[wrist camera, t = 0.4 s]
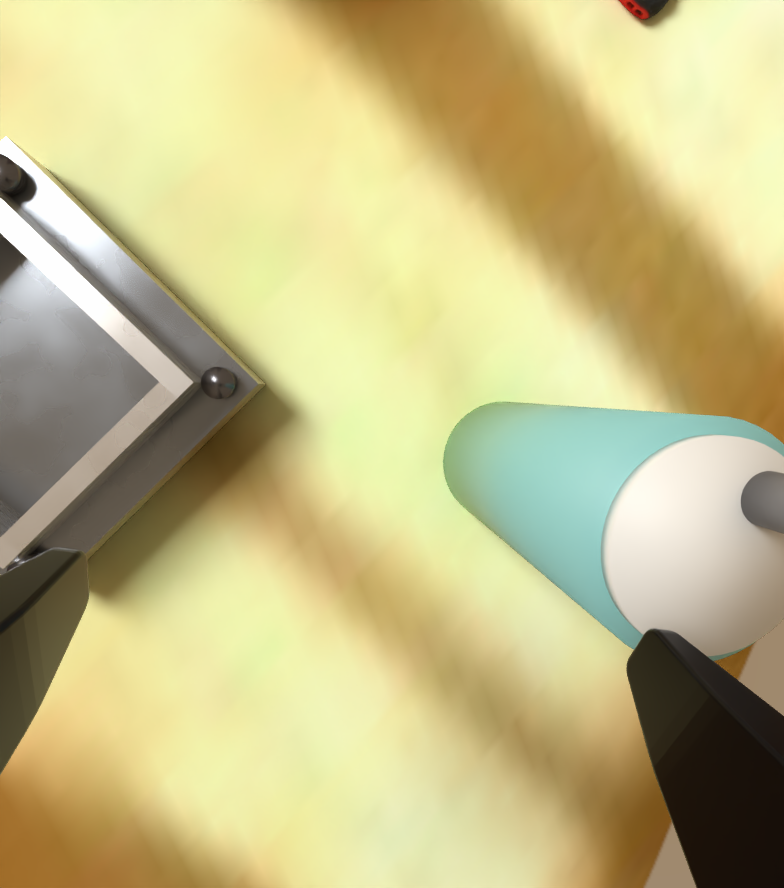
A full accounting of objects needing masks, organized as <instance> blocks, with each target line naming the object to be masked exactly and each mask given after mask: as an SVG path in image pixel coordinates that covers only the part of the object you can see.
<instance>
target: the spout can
mask: <svg viewBox="0 0 784 888" xmlns="http://www.w3.org/2000/svg"><path fill="white" fill-rule="evenodd" d="M443 465H444V474H445V479H446V482H447V485H448V487H449V489H450V491H451V493H452V494H453V496H454V497H455V498H456V500H457V501H458V502H459V503H460V504H461V505H462V506H463V507H464V508H466V509H467V510H468V511H469V512H470V513H471V514H473V515H474V516H475V517H476V518H477V519H479V520H480V521H481V522H482V523H483V524H484V525H486V526H487V527H488V528H489V529H490V530H492V531H493V532H494V533H495V534H496V535H497V536H499V537H500V538H501V539H502V540H503V541H504V542H506V543H507V544H508V545H509V546H510V547H512V548H513V549H514V550H515V551H516V552H517V553H519V554H520V555H521V556H522V557H523V558H524V559H526V560H527V561H528V562H529V563H530V564H532V565H533V566H534V567H535V568H536V569H537V570H539V571H540V572H541V573H542V574H543V575H545V576H546V577H547V578H548V579H549V580H550V581H552V582H553V583H554V584H555V585H556V586H557V587H559V588H560V589H561V590H562V591H563V592H565V593H566V594H567V595H568V596H569V597H570V598H572V599H573V600H574V601H575V602H576V603H577V604H579V605H580V606H581V607H582V608H583V609H585V610H586V611H587V612H588V613H589V614H590V615H592V616H593V617H594V618H595V619H596V620H598V621H599V622H600V623H601V624H602V625H603V626H605V627H606V628H607V629H608V630H609V631H610V632H612V633H613V634H614V635H615V636H616V637H618V638H619V639H620V640H621V641H622V642H623V643H625V644H626V645H628V646H629V647H631V648H632V649H635V648H636V646H637V644H638V643H639V641H640V640H641V638H642V637H643V635H644V633H645V632H646V631H647V630H649V629H652V628H657V629H664V630H671V631H674V632H676V633H678V634H679V635H681V636H682V637H683V638H684V639H686V640H687V641H688V642H690V643H691V644H692V645H693V646H695V647H696V648H697V649H698V650H700V651H701V652H702V653H704V654H705V655H706V656H707V657H709V658H710V659H711V660H713V661H715V660H719V659H722V658H725V657H728V656H730V655H733V654H735V653H737V652H739V651H741V650H743V649H745V648H746V647H748V646H750V645H752V644H753V643H754V642H756V641H757V640H759V639H761V638H762V637H763V636H765V635H766V634H768V633H769V632H770V631H771V630H772V629H774V628H775V627H776V626H777V625H778V624H779V623H780V622H781V621H782V620H783V619H784V444H783V443H782V442H780V441H779V440H778V439H777V438H775V437H774V436H773V435H772V434H770V433H769V432H767V431H765V430H764V429H762V428H760V427H758V426H756V425H754V424H751V423H749V422H746V421H744V420H740V419H735V418H731V417H723V416H710V415H695V414H679V413H664V412H649V411H634V410H619V409H604V408H589V407H574V406H559V405H544V404H529V403H514V402H495V403H489V404H486V405H483V406H480V407H478V408H476V409H474V410H473V411H471V412H470V413H468V414H467V415H466V416H465V417H464V418H462V419H461V420H460V422H459V423H458V424H457V425H456V426H455V428H454V429H453V431H452V432H451V434H450V436H449V438H448V441H447V444H446V447H445V452H444V460H443Z"/></svg>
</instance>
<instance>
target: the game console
mask: <svg viewBox="0 0 784 888" xmlns="http://www.w3.org/2000/svg"><path fill="white" fill-rule="evenodd" d="M619 1H620V2H621V3H622V4H623V5H624V7H625V8H626V9H627V10H629V11H630V12H631V13H632V14H634V15H635V16H637V17H638V18H640V19H648V18H650V17H652V16H654V15H656V14H657V13H658V12H659V11H660V10H661V9H662V8H663V7H664V5H665V4H666V3H667V1H668V0H619Z"/></svg>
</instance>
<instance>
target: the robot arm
mask: <svg viewBox="0 0 784 888" xmlns="http://www.w3.org/2000/svg"><path fill="white" fill-rule="evenodd" d="M88 599H89V579H88V563H87V556H86V554H85V553H84V552H83V551H81V550H75V549H68V548H61V547H54V548H51V549H48V550H46V551H44V552H42V553H41V554H39V555H37V556H35V557H33V558H31V559H29V560H27V561H25V562H23V563H22V564H20V565H18V566H16V567H14V568H12V569H10V570H8V571H6V572H4V573H2V574H1V575H0V775H1V773H2V771H3V770H4V768H5V766H6V764H7V763H8V761H9V759H10V758H11V756H12V754H13V753H14V751H15V749H16V748H17V746H18V744H19V743H20V741H21V739H22V738H23V736H24V734H25V733H26V731H27V729H28V727H29V726H30V724H31V722H32V720H33V719H34V717H35V715H36V713H37V711H38V709H39V707H40V705H41V703H42V701H43V699H44V697H45V695H46V693H47V691H48V689H49V687H50V684H51V682H52V680H53V678H54V676H55V674H56V671H57V669H58V667H59V665H60V663H61V661H62V658H63V656H64V654H65V652H66V650H67V648H68V646H69V643H70V641H71V639H72V637H73V635H74V633H75V630H76V628H77V626H78V624H79V622H80V620H81V618H82V615H83V613H84V611H85V609H86V606H87V603H88ZM627 676H628V680H629V684H630V687H631V691H632V695H633V698H634V702H635V706H636V709H637V713H638V717H639V720H640V724H641V728H642V731H643V735H644V739H645V742H646V746H647V750H648V753H649V757H650V760H651V763H652V767H653V770H654V773H655V776H656V779H657V782H658V784H659V787H660V790H661V793H662V795H663V798H664V801H665V803H666V806H667V809H668V812H669V814H670V817H671V820H672V823H673V825H674V828H675V830H676V833H677V836H678V838H679V842H680V844H681V847H682V850H683V852H684V855H685V858H686V861H687V863H688V866H689V869H690V871H691V874H692V877H693V880H694V882H695V885H696V888H784V716H783V715H782V714H780V713H779V712H778V711H776V710H775V709H774V708H773V707H771V706H770V705H769V704H767V703H766V702H765V701H764V700H762V699H761V698H760V697H759V696H757V695H756V694H754V693H753V692H752V691H751V690H750V689H748V688H747V687H746V686H744V685H743V684H742V683H741V682H739V681H738V680H737V679H736V678H734V677H733V676H732V675H730V674H729V673H728V672H727V671H725V670H724V669H723V668H721V667H720V666H719V665H718V664H716V663H715V662H714V661H713V660H711V659H710V658H709V657H707V656H706V655H705V654H704V653H702V652H701V651H700V650H698V649H697V648H696V647H695V646H693V645H692V644H691V643H690V642H688V641H687V640H686V639H684V638H683V637H682V636H681V635H679V634H678V633H676V632H674V631H671V630H664V629H657V628H652V629H649V630H647V631H646V632H645V633H644V635H643V637H642V638H641V640H640V641H639V643H638V644H637V646H636V648H635V649H634V651H633V652H632V654H631V655H630V657H629V659H628V662H627Z"/></svg>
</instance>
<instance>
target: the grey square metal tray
mask: <svg viewBox="0 0 784 888" xmlns="http://www.w3.org/2000/svg"><path fill="white" fill-rule="evenodd" d="M265 385H266V384H265V383H264V382H263V381H262V380H261V379H260V378H259V377H258V376H257V375H256V374H255V373H254V372H253V371H252V370H251V369H250V368H249V367H248V366H247V365H246V364H245V363H244V362H243V361H242V360H241V359H240V358H239V357H238V356H237V355H236V354H235V353H233V352H232V351H231V350H230V349H229V348H228V347H227V346H226V345H225V344H224V343H223V342H222V341H221V340H220V339H219V338H218V337H217V336H216V335H215V334H214V333H213V332H212V331H211V330H210V329H209V328H208V327H207V326H206V325H205V324H204V323H203V322H202V321H201V320H200V319H199V318H198V317H197V316H196V315H195V314H194V313H193V312H192V311H191V310H190V309H189V308H188V307H187V306H186V305H185V304H184V303H183V302H182V301H181V300H180V299H179V298H178V297H176V296H175V295H174V294H173V293H172V292H171V291H170V290H169V289H168V288H167V287H166V286H165V285H164V284H163V283H162V282H161V281H160V280H159V279H158V278H157V277H156V276H155V275H154V274H153V273H152V272H151V271H150V270H149V269H148V268H147V267H146V266H145V265H144V264H143V263H142V262H141V261H140V260H139V259H138V258H137V257H136V256H135V255H134V254H133V253H132V252H131V251H130V250H129V249H128V248H127V247H126V246H125V245H124V244H123V243H122V242H121V241H120V240H118V239H117V238H116V237H115V236H114V235H113V234H112V233H111V232H110V231H109V230H108V229H107V228H106V227H105V226H104V225H103V224H102V223H101V222H100V221H99V220H98V219H97V218H96V217H95V216H94V215H93V214H92V213H91V212H90V211H89V210H88V209H87V208H86V207H85V206H84V205H83V204H82V203H81V202H80V201H79V200H78V199H77V198H76V197H75V196H74V195H73V194H72V193H71V192H70V191H69V190H68V189H67V188H66V187H65V186H64V185H63V184H61V183H60V182H59V181H58V180H57V179H56V178H55V177H54V176H53V175H52V174H51V173H50V172H49V171H48V170H47V169H46V168H45V167H44V166H43V165H41V164H40V163H39V162H38V161H36V160H35V159H34V158H33V157H31V156H30V155H29V154H28V153H26V152H25V151H24V150H23V149H21V148H20V147H19V146H18V145H16V144H15V143H14V142H12V141H11V140H10V139H9V138H7V137H5V138H4V139H3V140H1V141H0V574H2V573H4V572H6V571H8V570H10V569H12V568H14V567H16V566H18V565H20V564H22V563H23V562H25V561H27V560H29V559H31V558H33V557H35V556H37V555H39V554H41V553H42V552H44V551H46V550H48V549H51V548H54V547H61V548H68V549H75V550H81V551H83V552H84V553H85V554H86V556H87V560H88V559H89V558H90V557H91V556H92V555H93V554H94V553H95V552H96V551H97V550H98V549H99V548H100V547H101V546H102V545H103V544H104V543H105V542H106V541H107V540H108V539H109V538H110V537H111V536H112V535H113V534H114V533H115V532H117V531H118V530H119V529H120V528H121V527H122V526H123V525H124V524H125V523H126V522H127V521H128V520H129V519H130V518H131V517H132V516H133V515H134V514H135V513H136V512H137V511H138V510H139V509H140V508H141V507H142V506H143V505H144V504H145V503H146V502H147V501H148V500H149V499H150V498H151V497H152V496H153V495H154V494H155V493H156V492H157V491H158V490H159V489H160V488H161V487H162V486H163V485H164V484H165V483H166V482H167V481H168V480H169V479H170V478H171V477H172V476H173V475H174V474H175V473H176V472H177V471H178V470H180V469H181V468H182V467H183V466H184V465H185V464H186V463H187V462H188V461H189V460H190V459H191V458H192V457H193V456H194V455H195V454H196V453H197V452H198V451H199V450H200V449H201V448H202V447H203V446H204V445H205V444H206V443H207V442H208V441H209V440H210V439H211V438H212V437H213V436H214V435H215V434H216V433H217V432H218V431H219V430H220V429H221V428H222V427H223V426H224V425H225V424H226V423H227V422H228V421H229V420H230V419H231V418H232V417H233V416H234V415H235V414H236V413H237V412H238V411H239V410H240V409H241V408H242V407H244V406H245V405H246V404H247V403H248V402H249V401H250V400H251V399H252V398H253V397H254V396H255V395H256V394H257V393H258V392H259V391H260V390H261V389H262V388H263V387H264V386H265Z"/></svg>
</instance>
